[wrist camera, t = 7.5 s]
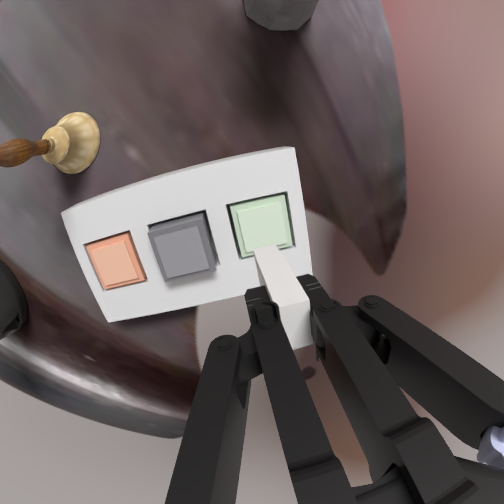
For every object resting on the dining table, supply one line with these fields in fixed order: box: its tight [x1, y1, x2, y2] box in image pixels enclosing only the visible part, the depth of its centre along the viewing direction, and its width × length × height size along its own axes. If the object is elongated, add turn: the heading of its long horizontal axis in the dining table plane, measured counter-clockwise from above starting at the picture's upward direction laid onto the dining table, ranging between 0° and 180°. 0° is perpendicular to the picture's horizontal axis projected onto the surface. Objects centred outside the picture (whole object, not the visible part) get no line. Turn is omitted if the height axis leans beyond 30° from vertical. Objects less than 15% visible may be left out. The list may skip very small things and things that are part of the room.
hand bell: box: [0, 112, 100, 174], centre depth 20 cm, size 8×8×16 cm
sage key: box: [230, 192, 293, 257], centre depth 32 cm, size 6×6×3 cm
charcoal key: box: [147, 212, 217, 283], centre depth 29 cm, size 6×6×3 cm
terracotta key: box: [86, 230, 146, 289], centre depth 31 cm, size 6×6×3 cm
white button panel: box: [61, 146, 313, 322], centre depth 32 cm, size 28×16×5 cm, turn 101°
